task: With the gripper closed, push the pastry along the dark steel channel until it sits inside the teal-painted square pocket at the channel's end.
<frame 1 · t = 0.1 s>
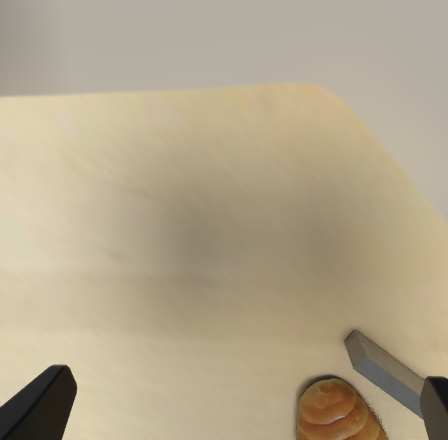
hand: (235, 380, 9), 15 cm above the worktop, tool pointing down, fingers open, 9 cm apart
pastry: (335, 429, 28), on the worktop
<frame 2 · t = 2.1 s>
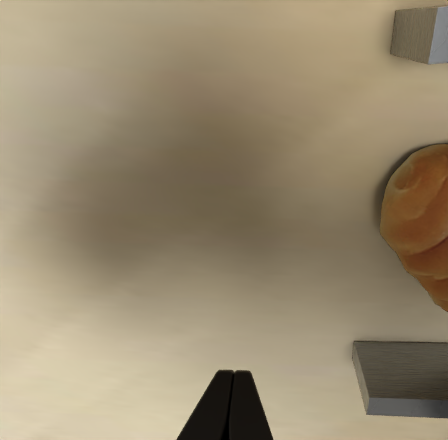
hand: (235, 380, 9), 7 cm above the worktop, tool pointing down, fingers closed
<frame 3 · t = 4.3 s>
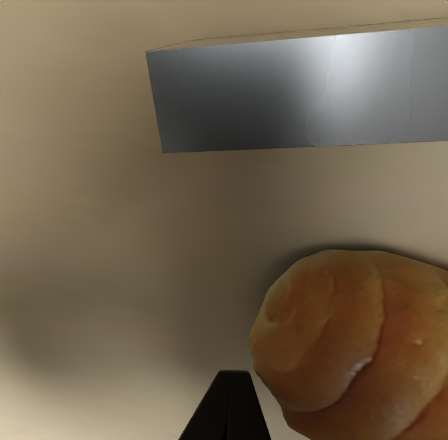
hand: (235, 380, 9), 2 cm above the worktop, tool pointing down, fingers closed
pastry: (417, 355, 10), on the worktop, touching gripper
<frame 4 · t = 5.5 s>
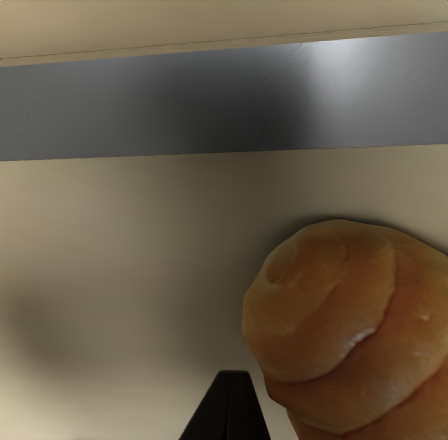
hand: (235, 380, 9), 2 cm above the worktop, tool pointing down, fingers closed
pastry: (399, 344, 10), on the worktop, touching gripper
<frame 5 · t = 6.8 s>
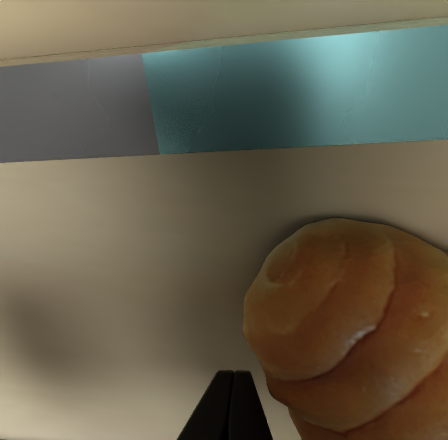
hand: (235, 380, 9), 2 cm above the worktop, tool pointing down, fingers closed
pastry: (399, 342, 10), on the worktop
rail pocket: (446, 338, 9), on the worktop
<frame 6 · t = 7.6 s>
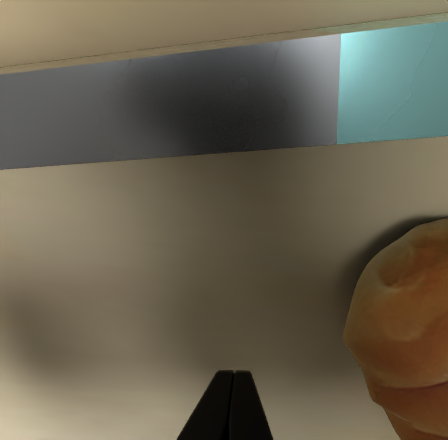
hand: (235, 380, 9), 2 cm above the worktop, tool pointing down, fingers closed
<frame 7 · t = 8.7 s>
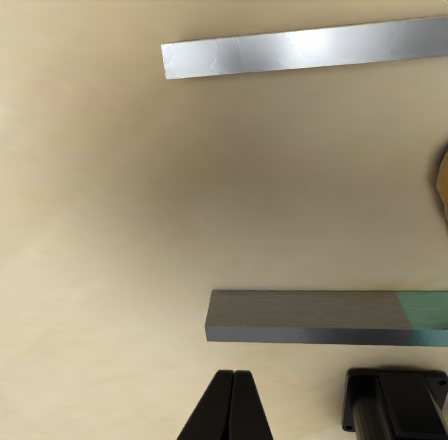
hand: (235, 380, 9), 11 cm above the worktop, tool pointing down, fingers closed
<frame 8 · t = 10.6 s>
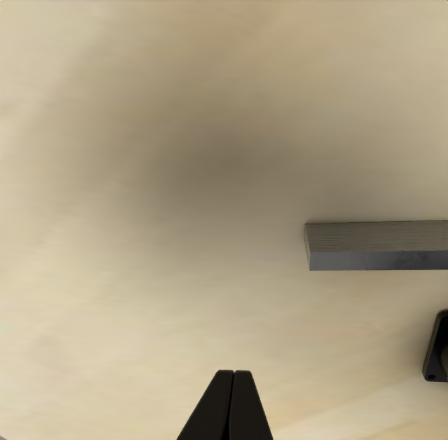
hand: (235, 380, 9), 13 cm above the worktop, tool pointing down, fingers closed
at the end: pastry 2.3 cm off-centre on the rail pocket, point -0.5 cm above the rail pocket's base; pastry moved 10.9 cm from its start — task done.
